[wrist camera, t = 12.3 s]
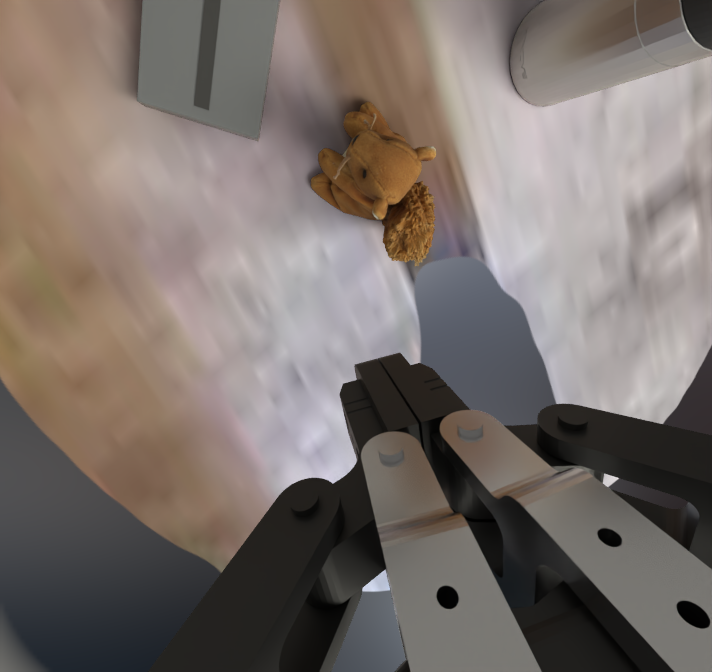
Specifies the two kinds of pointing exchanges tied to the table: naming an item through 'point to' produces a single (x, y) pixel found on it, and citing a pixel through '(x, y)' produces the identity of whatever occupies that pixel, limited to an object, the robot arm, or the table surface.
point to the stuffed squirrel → (380, 183)
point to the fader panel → (208, 60)
